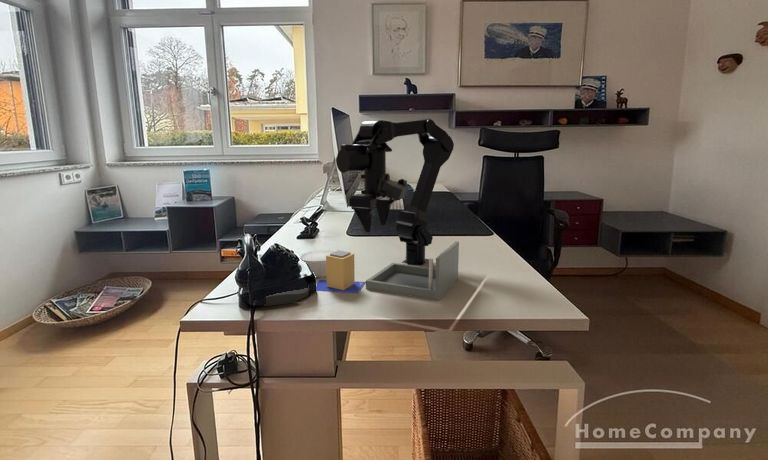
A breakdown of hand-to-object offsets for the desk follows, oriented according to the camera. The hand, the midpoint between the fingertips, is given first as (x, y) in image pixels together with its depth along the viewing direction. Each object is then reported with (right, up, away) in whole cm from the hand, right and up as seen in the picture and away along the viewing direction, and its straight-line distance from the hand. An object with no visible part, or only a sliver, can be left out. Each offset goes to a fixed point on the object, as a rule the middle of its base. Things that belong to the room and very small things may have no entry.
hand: (375, 228), depth 114 cm
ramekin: (-16, -13, +5) cm, 21 cm away
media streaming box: (-24, -17, -9) cm, 31 cm away
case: (+9, -15, -6) cm, 18 cm away
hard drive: (-9, -16, -7) cm, 20 cm away
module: (-9, -14, -7) cm, 18 cm away
